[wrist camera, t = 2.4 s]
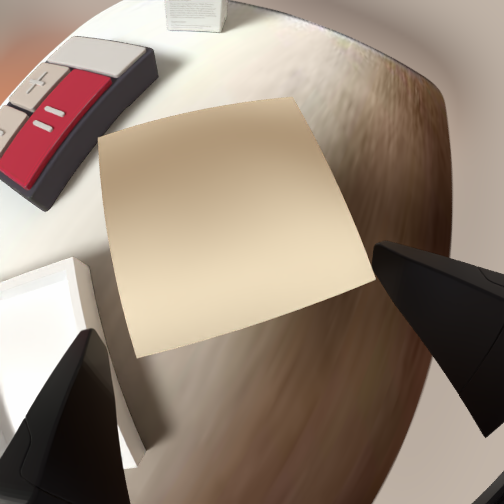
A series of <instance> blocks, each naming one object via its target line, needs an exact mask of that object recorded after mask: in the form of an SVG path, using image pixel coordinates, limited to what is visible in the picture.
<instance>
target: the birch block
mask: <svg viewBox="0 0 504 504" xmlns="http://www.w3.org/2000/svg"><path fill="white" fill-rule="evenodd" d="M98 152H99V166H100V178H101V189H102V198H103V206H104V214H105V221H106V228H107V234H108V240H109V246H110V252H111V257H112V262H113V267H114V272H115V277H116V282H117V286H118V291H119V295H120V299H121V303H122V308H123V311H124V315H125V319H126V323H127V327H128V330H129V334H130V337H131V341H132V344H133V347H134V351H135V354H136V357H137V358H140V357H144V356H148V355H152V354H156V353H160V352H164V351H168V350H171V349H175V348H179V347H182V346H186V345H189V344H193V343H196V342H200V341H203V340H207V339H210V338H213V337H217V336H220V335H223V334H227V333H230V332H233V331H236V330H239V329H242V328H246V327H249V326H252V325H255V324H258V323H261V322H264V321H267V320H270V319H273V318H276V317H279V316H282V315H284V314H287V313H290V312H293V311H296V310H299V309H301V308H304V307H307V306H310V305H312V304H315V303H318V302H320V301H323V300H326V299H328V298H331V297H334V296H336V295H339V294H341V293H344V292H346V291H349V290H351V289H354V288H356V287H359V286H361V285H364V284H366V283H369V282H371V281H374V280H376V278H375V276H374V273H373V270H372V267H371V265H370V262H369V259H368V256H367V254H366V251H365V249H364V246H363V243H362V241H361V238H360V236H359V233H358V231H357V228H356V226H355V224H354V221H353V219H352V216H351V214H350V212H349V209H348V207H347V205H346V202H345V200H344V198H343V196H342V193H341V191H340V189H339V187H338V184H337V182H336V180H335V178H334V176H333V174H332V172H331V169H330V167H329V165H328V163H327V161H326V159H325V157H324V155H323V153H322V151H321V149H320V147H319V145H318V143H317V141H316V139H315V137H314V135H313V133H312V131H311V130H310V128H309V126H308V124H307V122H306V120H305V118H304V117H303V115H302V113H301V111H300V109H299V107H298V106H297V104H296V102H295V100H294V99H293V97H286V98H276V99H266V100H258V101H251V102H243V103H237V104H230V105H224V106H219V107H213V108H208V109H202V110H197V111H193V112H188V113H183V114H179V115H175V116H170V117H166V118H162V119H158V120H154V121H151V122H147V123H143V124H140V125H136V126H133V127H129V128H126V129H123V130H120V131H116V132H113V133H110V134H107V135H104V136H101V137H98Z"/></svg>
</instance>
